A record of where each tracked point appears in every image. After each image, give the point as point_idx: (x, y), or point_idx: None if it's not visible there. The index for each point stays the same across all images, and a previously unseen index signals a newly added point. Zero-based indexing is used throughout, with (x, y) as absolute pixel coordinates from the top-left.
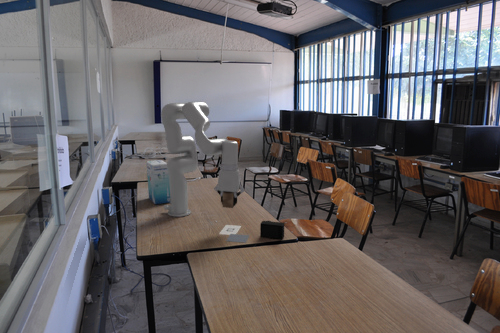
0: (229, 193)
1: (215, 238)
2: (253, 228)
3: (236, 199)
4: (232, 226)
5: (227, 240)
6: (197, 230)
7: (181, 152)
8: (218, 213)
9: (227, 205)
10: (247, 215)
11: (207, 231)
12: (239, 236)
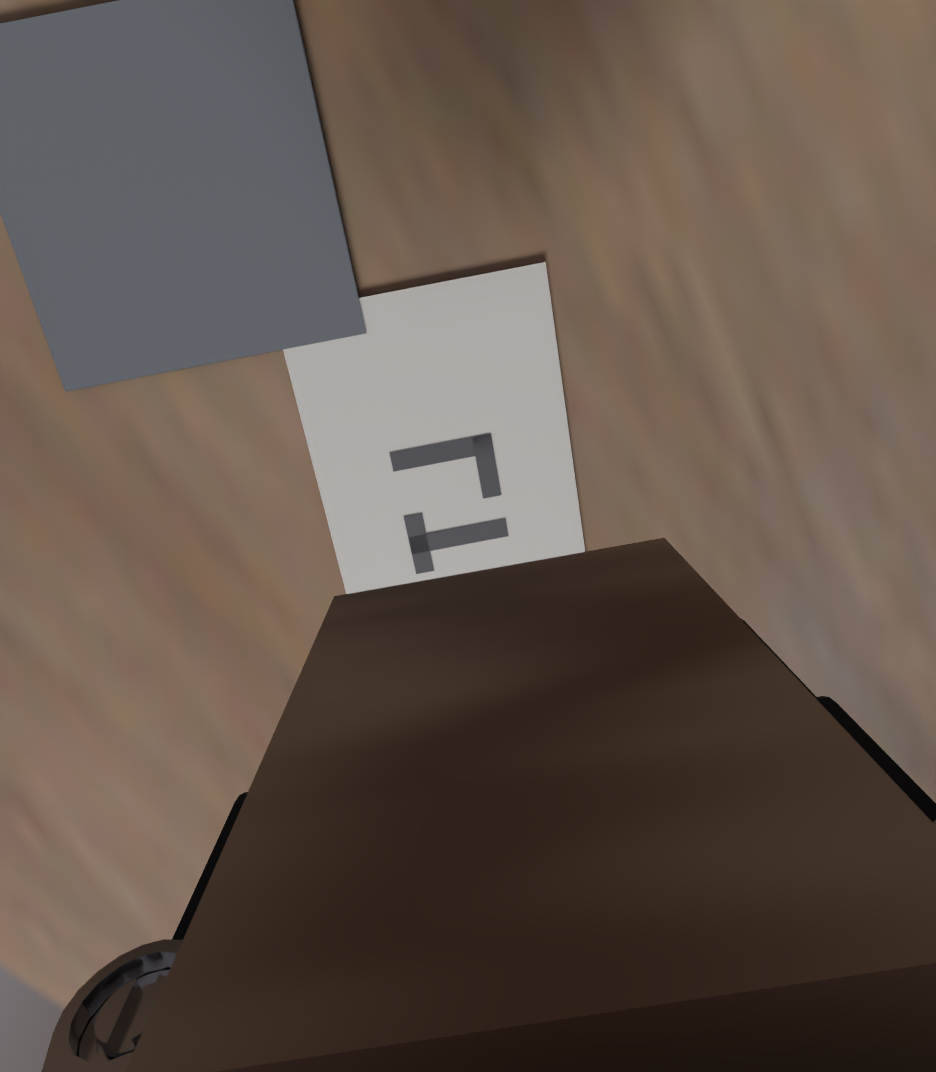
0: (439, 1052)
1: (521, 62)
2: (179, 685)
3: (190, 903)
4: None
5: (272, 9)
6: (932, 300)
7: None
8: None
9: (509, 594)
10: None
11: (765, 320)
12: (182, 278)
